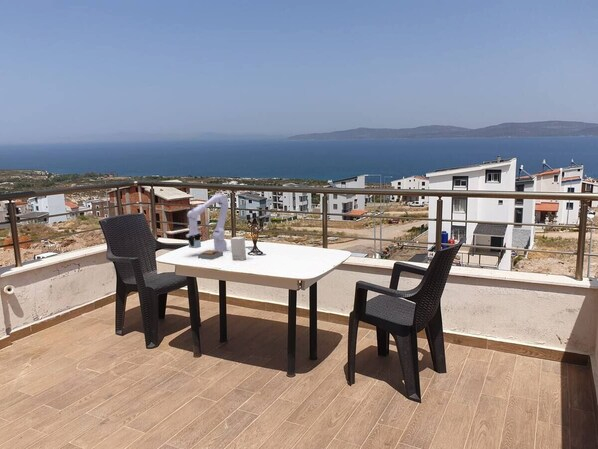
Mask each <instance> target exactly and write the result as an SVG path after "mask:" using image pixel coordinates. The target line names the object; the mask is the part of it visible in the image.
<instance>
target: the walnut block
mask: <svg viewBox="0 0 598 449" xmlns="http://www.w3.org/2000/svg"><path fill="white" fill-rule="evenodd" d="M201 253H202V255H211V256H212V255H215V254H217V253H218V251H216V250H215V249H214V250H213V249H209V250H204V251H202V252H201Z"/></svg>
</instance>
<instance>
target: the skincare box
mask: <svg viewBox="0 0 598 449" xmlns="http://www.w3.org/2000/svg"><path fill="white" fill-rule="evenodd" d="M230 247H231V258H232V261H244V260H245V259H247V254H246V253H247V252H246V251H247V250H246V241H245V236H233V237H232V238H230Z"/></svg>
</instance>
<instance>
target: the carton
mask: <svg viewBox="0 0 598 449" xmlns="http://www.w3.org/2000/svg"><path fill="white" fill-rule="evenodd" d="M201 242H202V240H195V239H194V246H191V245H190V242H189V241H188V248H189V249H198V248H201V247H202V243H201Z"/></svg>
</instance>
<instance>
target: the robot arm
mask: <svg viewBox="0 0 598 449" xmlns="http://www.w3.org/2000/svg"><path fill="white" fill-rule="evenodd" d="M228 200H229V198H228V197H227V196H226V195H225V194H219V193H216V194H215V195H213V196H212V197H210V198H209V199H208V200H206V202H204V203H202V204H197V205H196V206H195V207H194V208H192V210H189V211H188V212H187V214H186V217H187V218H188V224H189V227H188V228H189V232H188V233H187V234H185V237H186V239H187V240H188V243H189V242H190V245H191V246H194V240H200V239H201V237H202V233H203V232H202V231H199V228H198V217H199V215H201V214H203V213H204V212H205V211H206V209H207V208H209V207H210V206H212V205H213V204H216V203H217V204H218V205H219V207H220V211H219V214H218V219H217V223H216V227H215V228H214V230H213V232H212V234H211V237H212V239H213V243H214V244H213V246H214V250H216V251H218V252H223V253H224V252H228V251H229V250H228V248H227V247H228V246H227V241H226V240H225V238H226V234H225V233H226V232H225V223H226V220H227V216H228V215H227V214H228V211H229V210H228V209H229V201H228ZM200 241H201V240H200Z"/></svg>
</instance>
